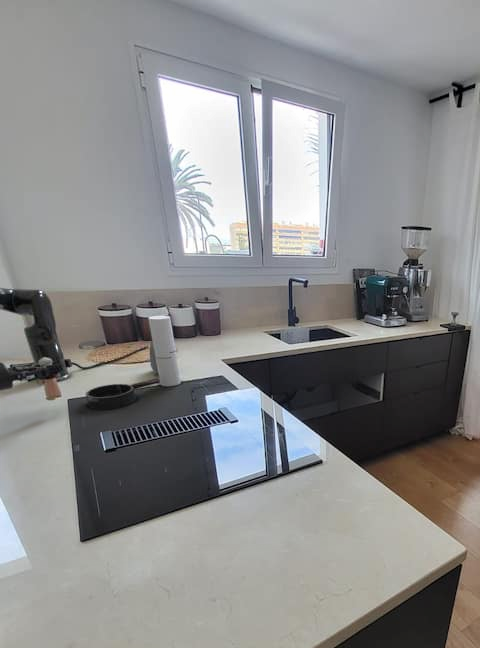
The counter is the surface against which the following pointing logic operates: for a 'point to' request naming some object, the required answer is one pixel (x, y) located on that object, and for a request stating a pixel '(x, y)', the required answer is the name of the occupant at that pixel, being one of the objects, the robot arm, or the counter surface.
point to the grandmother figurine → (50, 381)
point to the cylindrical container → (164, 350)
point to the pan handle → (145, 383)
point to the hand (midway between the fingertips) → (58, 366)
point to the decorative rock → (153, 359)
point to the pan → (110, 396)
